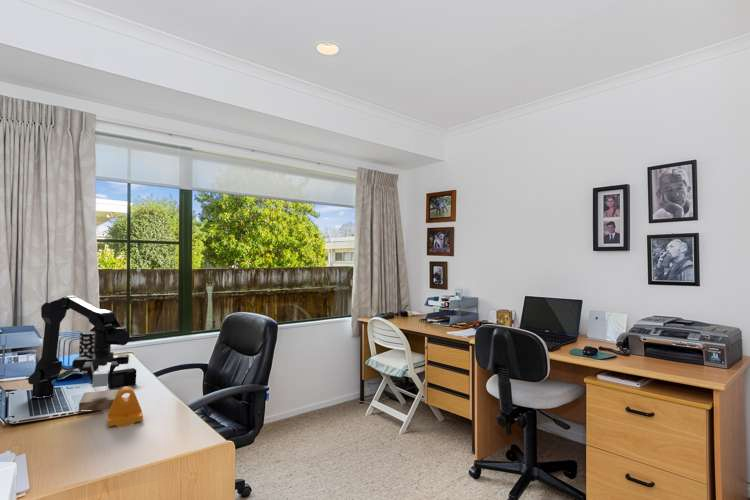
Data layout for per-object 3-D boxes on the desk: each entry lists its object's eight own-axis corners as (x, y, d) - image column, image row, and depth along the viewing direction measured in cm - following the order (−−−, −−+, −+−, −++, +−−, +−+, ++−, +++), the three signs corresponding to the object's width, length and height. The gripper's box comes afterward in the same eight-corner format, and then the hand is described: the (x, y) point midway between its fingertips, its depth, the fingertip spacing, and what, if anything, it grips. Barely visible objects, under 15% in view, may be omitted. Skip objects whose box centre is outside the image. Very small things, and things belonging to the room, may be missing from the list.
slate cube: (92, 387, 166) (92, 374, 166) (93, 383, 170) (94, 371, 170) (107, 385, 168) (107, 373, 168) (108, 382, 173) (109, 370, 173)
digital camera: (110, 389, 188) (111, 374, 188) (107, 386, 191) (108, 371, 191) (136, 385, 195) (137, 370, 195) (133, 382, 199) (133, 367, 199)
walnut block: (78, 413, 161) (79, 403, 161) (84, 402, 172) (84, 392, 172) (118, 409, 167) (118, 398, 167) (121, 398, 178) (121, 389, 178)
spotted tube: (101, 372, 212) (103, 332, 212) (82, 376, 205) (84, 335, 205) (93, 369, 217) (95, 330, 217) (74, 373, 210) (76, 332, 210)
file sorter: (103, 363, 229) (105, 335, 230) (67, 370, 215) (68, 340, 215) (81, 356, 243) (82, 329, 243) (45, 362, 228) (46, 333, 228)
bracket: (107, 428, 147) (109, 394, 148) (107, 421, 153) (108, 388, 154) (142, 422, 153) (144, 389, 154) (140, 416, 159) (142, 384, 160)
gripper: (70, 349, 158) (68, 390, 158) (128, 345, 167) (126, 385, 167) (75, 343, 168) (73, 382, 168) (129, 340, 177) (128, 377, 176)
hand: (100, 382), depth 169 cm, fingers closed on slate cube, 5 cm apart
